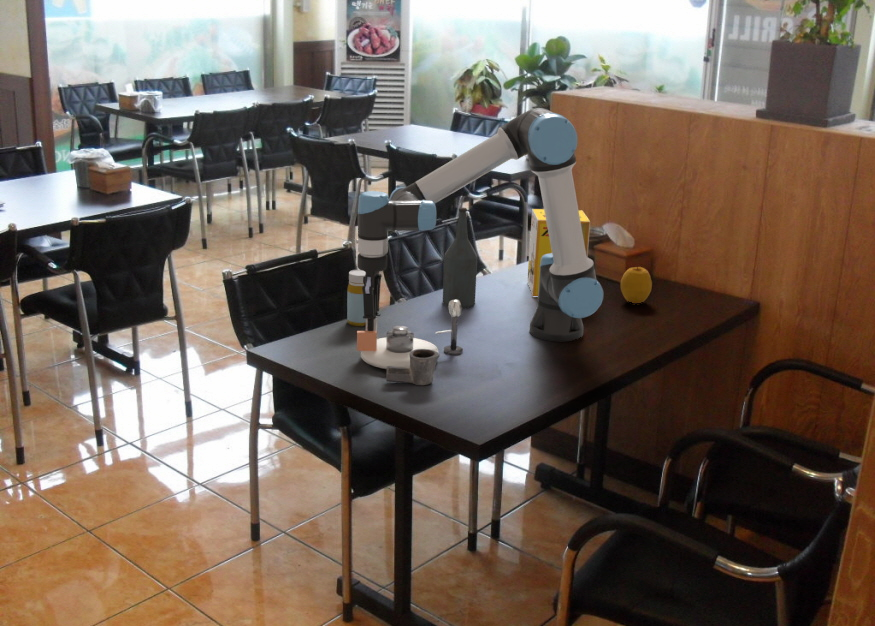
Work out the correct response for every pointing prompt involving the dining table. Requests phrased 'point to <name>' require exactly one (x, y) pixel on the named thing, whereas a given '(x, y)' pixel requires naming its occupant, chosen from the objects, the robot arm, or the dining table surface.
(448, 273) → the bottle
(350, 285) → the bottle
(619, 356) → the dining table surface
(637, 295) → the apple
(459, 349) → the silver headed stand
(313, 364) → the dining table surface
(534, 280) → the packaging box
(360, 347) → the turntable
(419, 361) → the pipe
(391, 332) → the cover
